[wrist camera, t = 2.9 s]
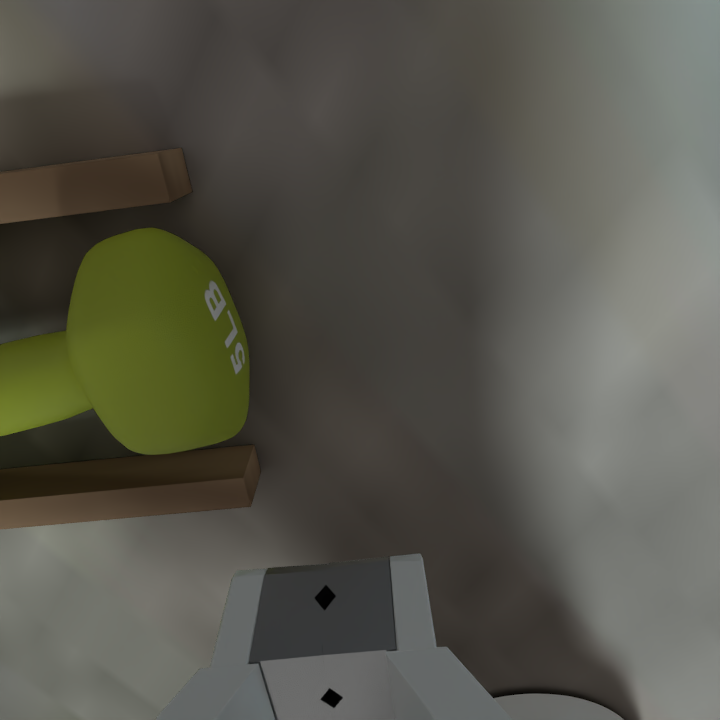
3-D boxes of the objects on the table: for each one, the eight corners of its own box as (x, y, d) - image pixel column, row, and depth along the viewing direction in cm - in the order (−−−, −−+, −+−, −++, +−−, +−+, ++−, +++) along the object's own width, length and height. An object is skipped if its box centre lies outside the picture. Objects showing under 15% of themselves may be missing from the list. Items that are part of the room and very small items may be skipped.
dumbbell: (211, 198, 20) (134, 243, 13) (280, 384, 23) (247, 494, 16) (-167, 307, 22) (-397, 393, 15) (-54, 464, 25) (-203, 590, 18)
